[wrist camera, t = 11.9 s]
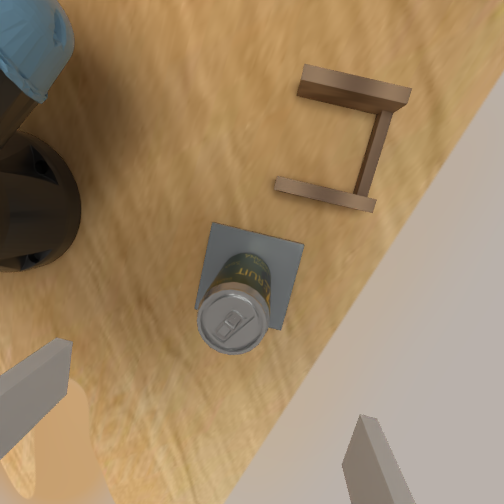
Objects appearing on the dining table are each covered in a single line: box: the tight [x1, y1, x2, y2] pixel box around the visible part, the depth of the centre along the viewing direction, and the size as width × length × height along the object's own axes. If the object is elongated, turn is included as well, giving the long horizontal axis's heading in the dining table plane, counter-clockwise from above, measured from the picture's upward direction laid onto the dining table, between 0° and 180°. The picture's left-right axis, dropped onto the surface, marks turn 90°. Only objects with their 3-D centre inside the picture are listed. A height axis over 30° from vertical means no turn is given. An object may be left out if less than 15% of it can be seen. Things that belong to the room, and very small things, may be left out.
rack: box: [274, 64, 412, 213], centre depth 28 cm, size 9×10×4 cm
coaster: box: [195, 222, 304, 330], centre depth 33 cm, size 10×10×1 cm
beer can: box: [197, 253, 271, 355], centre depth 27 cm, size 5×5×12 cm
